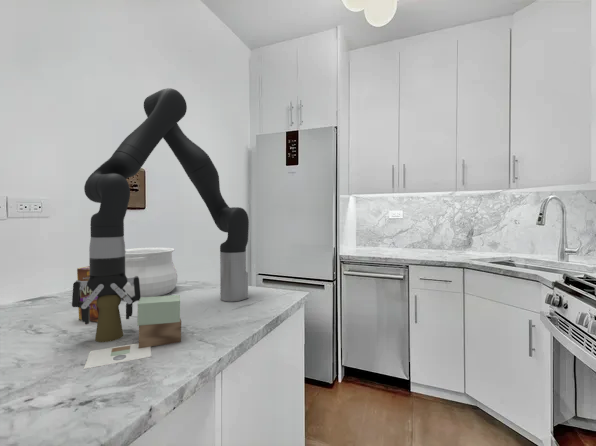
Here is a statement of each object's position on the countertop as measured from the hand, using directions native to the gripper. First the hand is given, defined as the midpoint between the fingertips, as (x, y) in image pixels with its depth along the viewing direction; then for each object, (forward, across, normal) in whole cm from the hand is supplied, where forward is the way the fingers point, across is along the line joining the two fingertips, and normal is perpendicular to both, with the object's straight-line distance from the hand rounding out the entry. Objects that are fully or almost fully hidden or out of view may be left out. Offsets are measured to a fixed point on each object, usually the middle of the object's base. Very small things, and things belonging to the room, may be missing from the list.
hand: (108, 320), depth 76 cm
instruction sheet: (+4, +3, -12) cm, 13 cm away
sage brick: (-1, +11, -8) cm, 14 cm away
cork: (+4, 0, 0) cm, 5 cm away
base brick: (+4, +11, -8) cm, 14 cm away
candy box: (+4, -5, +18) cm, 19 cm away
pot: (+4, +8, +47) cm, 48 cm away
